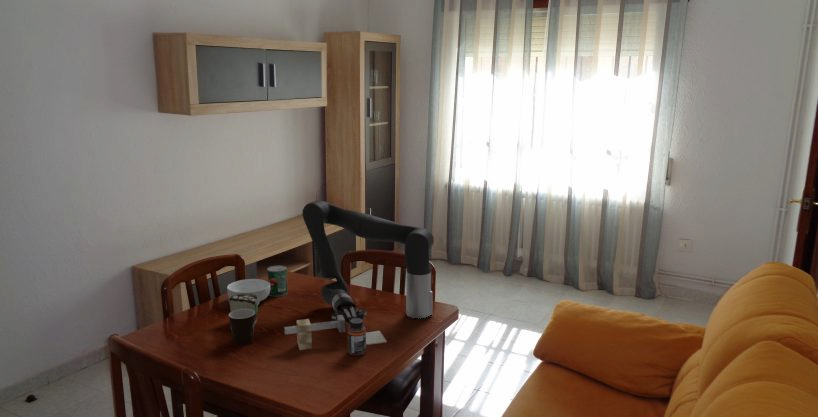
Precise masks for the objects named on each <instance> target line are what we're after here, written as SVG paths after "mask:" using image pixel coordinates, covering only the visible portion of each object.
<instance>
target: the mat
mask: <svg viewBox="0 0 818 417" xmlns="http://www.w3.org/2000/svg"><path fill="white" fill-rule="evenodd" d="M385 343H387V340H386V338H385V337H384V335H383V334H382V332H381V331H380V330H375V331H369V332H368V331H366V346H370V345H376V344H385Z"/></svg>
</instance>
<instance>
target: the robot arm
mask: <svg viewBox="0 0 818 417" xmlns="http://www.w3.org/2000/svg"><path fill="white" fill-rule="evenodd" d="M302 218H303V219H302V220H303V221H304V224H305V225H306V226H305V227H306V228H307V231H308V233H309V236H310V239H311V242H312V245H313V247H314V250H315V253H316V257H317V261H318V265H319V270H320V273H321V276H322V277H323V278H324V279H331V278H332V279H335V280H336V281H333V282H330V283H326V284H324V285H323V286H322V287H321V288H320V289H321V290H320V294H321V298H322V299H323V301H324V302H325V303H327V304H329V305H331V306H332V309H333V311H334V312H332V313H331V321H337V315H343V317H344V319H345V324H348V325H350V321H351V320H352V319H355V318H359V319H362V320H364V318H366V317H367V309H366V308H363V309H361V310H360V308H358V307H357V305H356V303H355V302H354V300H353V299H352V297H351V296H350V295H349V293H350V292H349V286H348V285H347V283H346V281H345V280H344V278H343V276H342V273H341V271H340V268H339V264H338V259H337V256H336V253H335V250H334V248H333V246H332V245H331V243H330V241H329V240H328V237H327V234H326V230H325V224H328V225H332V226H338V227H340V228H341V229H343V230H346V231H347V232H349V233H350V234H352V235H355V236H356V237H358V238H359V237H360V238H362V239H365V240H368V241H369V240H370V241H374V242H392V243H393V242H395V243H399V244H403V245H404V263H405V267H406V294H405V295H406V306H405V307H406V308H405V310H406V316H407V317H408V318H410V317H411V318H410V319H414V318H418V319H417V320H422V319H421V318H424V319H427V318H429V317H431V316H430V315H432V316H433V310H434V309H433V308H434V307H433V302H434V298H433V296H434V294H433V293H434V292H433V291H432V264H431V263H430V249H431V248H432V246H433V245H434V241H435V237H434V235H433V234H432V232H431V231H430V230H428V229H426V228H424V227H419V226H414V225H406V224H402V223H398V222H395V221H391V220H389V219H386V218H381V217H378V216H376V215H372V214H369V213H364V212H361V211H356V210H350V209H347V208H344V207H340V206H337V205H335V204H332V203H329V202H327V201H324V200H314V201H311V202H308V203H307V204H306V205H304V207H303V208H302ZM428 316H429V317H428ZM426 317H427V318H426ZM419 318H420V319H419Z"/></svg>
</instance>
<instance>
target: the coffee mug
mask: <svg viewBox="0 0 818 417" xmlns="http://www.w3.org/2000/svg"><path fill="white" fill-rule="evenodd" d="M228 318H229V319H228V320H229V324H230V329H231V335H232V341H233V344H235V345H237V346H246V345H249V344H251V343H253V342H254V335H255V334H254V331H255V326H254V319H255V311H253V310H251V309H238V310H234V311H232V312H231V311H230V312H229V313H228Z"/></svg>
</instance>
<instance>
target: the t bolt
mask: <svg viewBox="0 0 818 417" xmlns="http://www.w3.org/2000/svg"><path fill="white" fill-rule="evenodd" d="M283 329H284V331H283V332H284V335H291V334H297V333H298V326H297V325H292V326H284V327H283ZM328 329H329V330H330V329H338V332H339V333H345V332H346V323H345V319H344V317H343V315H337V321H333V320H331V321H324V322H315V323H311V332H315V331H321V330H328Z"/></svg>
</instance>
